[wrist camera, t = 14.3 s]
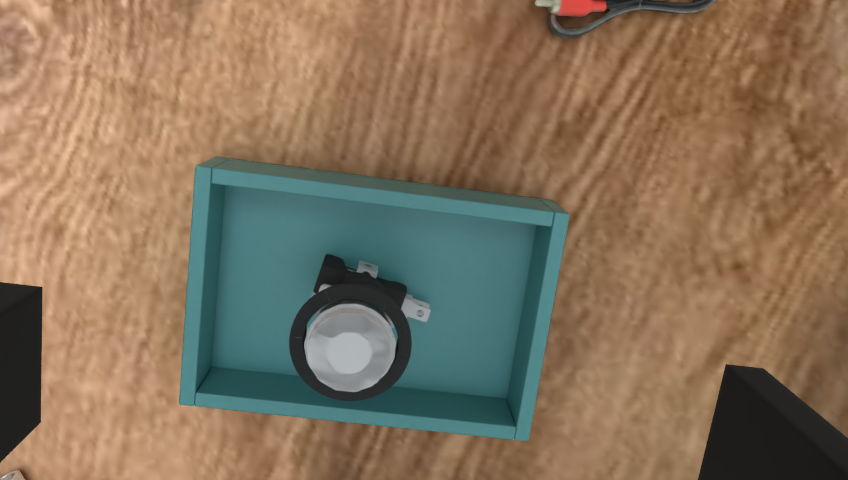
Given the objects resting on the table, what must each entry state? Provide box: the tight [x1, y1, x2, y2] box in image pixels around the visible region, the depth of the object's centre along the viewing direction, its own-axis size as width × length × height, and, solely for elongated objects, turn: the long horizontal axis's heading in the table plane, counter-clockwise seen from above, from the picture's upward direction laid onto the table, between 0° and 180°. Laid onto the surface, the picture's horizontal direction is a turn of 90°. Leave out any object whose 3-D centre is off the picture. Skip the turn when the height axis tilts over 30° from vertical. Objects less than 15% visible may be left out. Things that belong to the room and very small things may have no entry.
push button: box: [289, 254, 431, 401], centre depth 36 cm, size 7×5×10 cm
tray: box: [179, 157, 570, 441], centre depth 39 cm, size 19×13×4 cm
